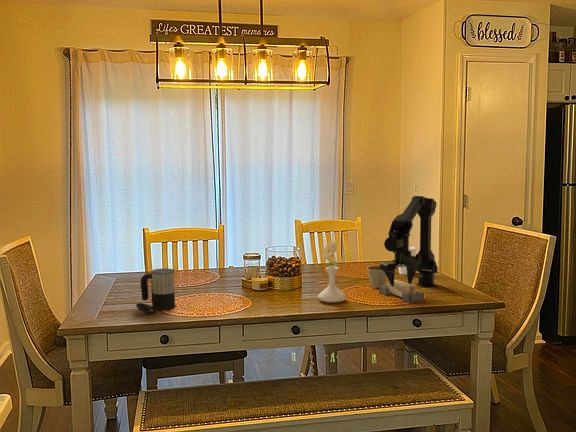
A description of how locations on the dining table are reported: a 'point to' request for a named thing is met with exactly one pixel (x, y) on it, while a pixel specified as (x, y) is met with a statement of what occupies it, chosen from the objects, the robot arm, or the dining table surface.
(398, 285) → the beige rectangular block
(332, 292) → the flower in vase
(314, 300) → the dining table surface
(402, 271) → the foam cup
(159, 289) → the milk frother
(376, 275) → the flower pot
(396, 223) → the robot arm
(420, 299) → the end caps
